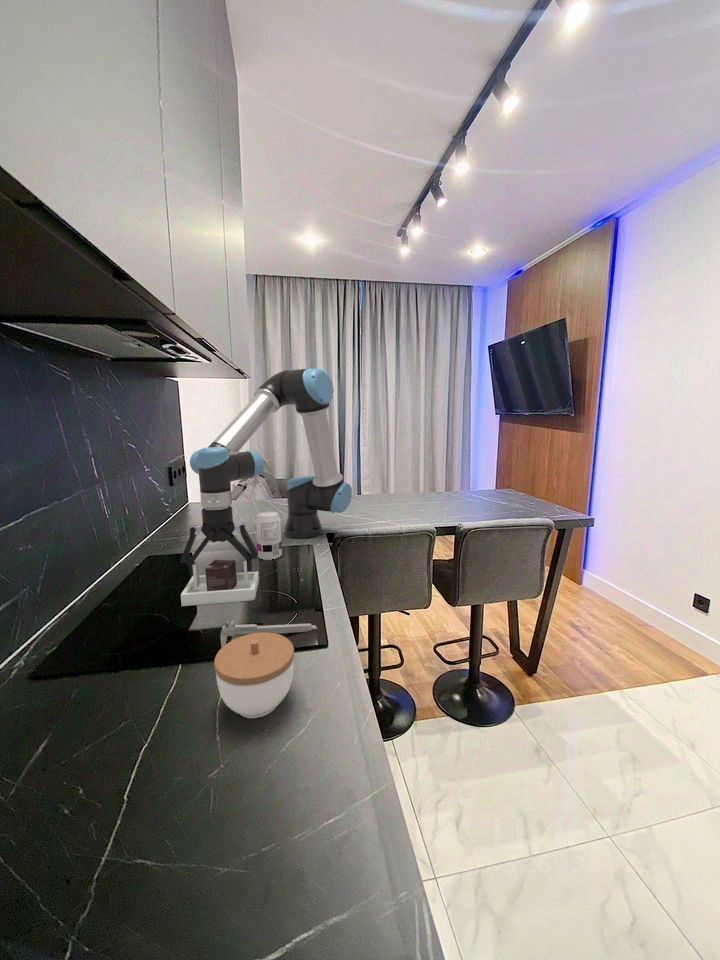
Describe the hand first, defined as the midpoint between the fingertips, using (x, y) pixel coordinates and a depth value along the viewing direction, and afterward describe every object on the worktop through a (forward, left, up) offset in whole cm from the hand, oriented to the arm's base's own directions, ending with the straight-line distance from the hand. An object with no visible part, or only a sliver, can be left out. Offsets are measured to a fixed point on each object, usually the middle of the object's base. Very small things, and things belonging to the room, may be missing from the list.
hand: (222, 584), depth 106 cm
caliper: (+25, +14, -3) cm, 29 cm away
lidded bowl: (+44, +13, -3) cm, 46 cm away
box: (0, 0, -2) cm, 2 cm away
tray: (0, 0, -2) cm, 2 cm away
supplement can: (-26, +11, -3) cm, 28 cm away
